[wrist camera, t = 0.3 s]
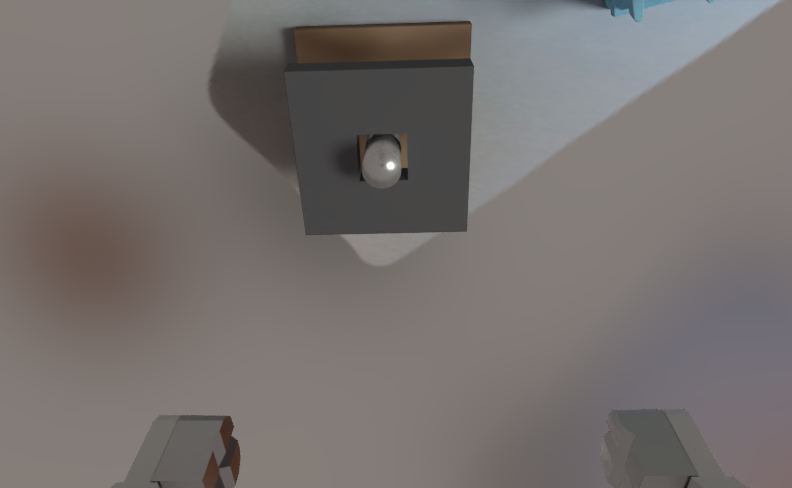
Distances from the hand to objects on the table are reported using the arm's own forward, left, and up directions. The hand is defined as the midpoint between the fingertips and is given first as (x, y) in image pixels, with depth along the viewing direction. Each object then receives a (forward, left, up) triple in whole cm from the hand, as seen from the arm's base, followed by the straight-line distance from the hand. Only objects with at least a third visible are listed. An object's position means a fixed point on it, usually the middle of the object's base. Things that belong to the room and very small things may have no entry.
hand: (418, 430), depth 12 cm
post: (+7, -2, -44) cm, 45 cm away
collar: (+7, -2, -35) cm, 36 cm away
